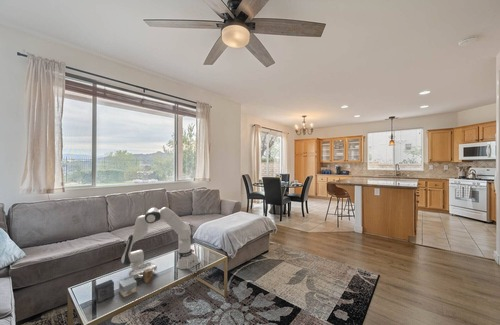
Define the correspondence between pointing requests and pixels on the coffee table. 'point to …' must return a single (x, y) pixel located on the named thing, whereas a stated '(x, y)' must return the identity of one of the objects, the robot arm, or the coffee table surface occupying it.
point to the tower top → (127, 284)
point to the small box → (104, 291)
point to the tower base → (127, 292)
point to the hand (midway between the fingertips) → (147, 274)
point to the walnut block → (147, 275)
